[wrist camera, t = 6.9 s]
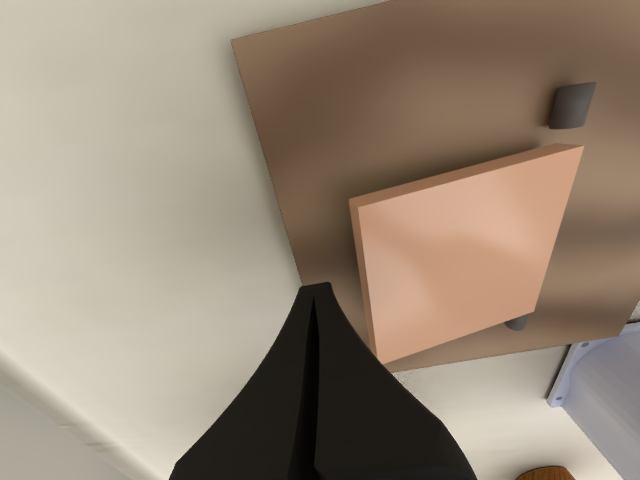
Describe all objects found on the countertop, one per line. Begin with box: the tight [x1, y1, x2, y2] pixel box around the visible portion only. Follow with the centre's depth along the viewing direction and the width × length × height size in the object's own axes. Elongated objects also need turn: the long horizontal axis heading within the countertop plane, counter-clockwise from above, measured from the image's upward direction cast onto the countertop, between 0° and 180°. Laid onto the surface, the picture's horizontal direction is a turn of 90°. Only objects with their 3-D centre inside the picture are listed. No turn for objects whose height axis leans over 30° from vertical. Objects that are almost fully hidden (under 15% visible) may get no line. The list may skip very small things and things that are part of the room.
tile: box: [348, 143, 585, 364], centre depth 11 cm, size 9×1×9 cm
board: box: [231, 0, 640, 373], centre depth 12 cm, size 20×20×2 cm
